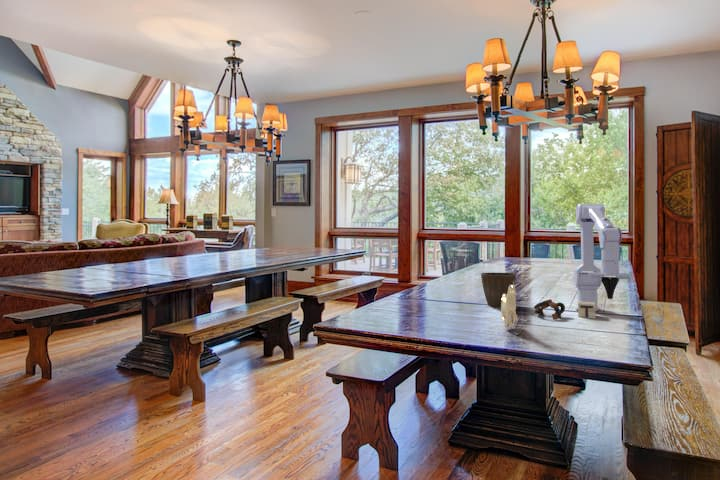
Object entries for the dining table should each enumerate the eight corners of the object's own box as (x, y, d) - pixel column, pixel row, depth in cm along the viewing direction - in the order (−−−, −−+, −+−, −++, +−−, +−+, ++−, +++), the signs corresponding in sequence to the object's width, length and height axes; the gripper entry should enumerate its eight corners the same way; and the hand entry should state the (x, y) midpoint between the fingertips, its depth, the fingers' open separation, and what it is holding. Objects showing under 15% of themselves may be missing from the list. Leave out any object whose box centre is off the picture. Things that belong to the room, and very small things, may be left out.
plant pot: (520, 312, 206) (520, 274, 206) (485, 312, 206) (485, 274, 206) (510, 307, 221) (510, 272, 221) (477, 307, 221) (477, 272, 221)
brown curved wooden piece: (549, 321, 183) (539, 301, 187) (536, 328, 192) (527, 309, 195) (574, 313, 187) (564, 293, 190) (561, 320, 195) (551, 301, 198)
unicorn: (497, 322, 182) (497, 276, 182) (508, 322, 181) (508, 276, 181) (508, 332, 162) (508, 280, 162) (520, 332, 162) (520, 281, 162)
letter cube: (578, 316, 196) (578, 301, 196) (595, 317, 193) (595, 302, 193) (578, 318, 190) (578, 303, 190) (595, 319, 188) (595, 304, 188)
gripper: (586, 260, 177) (586, 298, 177) (631, 261, 169) (631, 301, 169) (589, 260, 183) (590, 296, 183) (634, 261, 175) (634, 299, 175)
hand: (610, 298), depth 176 cm, fingers closed
